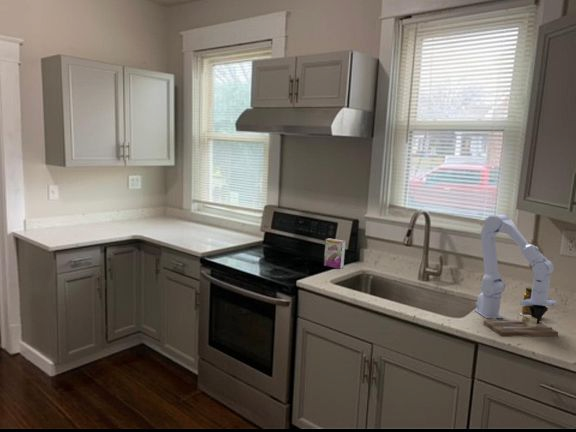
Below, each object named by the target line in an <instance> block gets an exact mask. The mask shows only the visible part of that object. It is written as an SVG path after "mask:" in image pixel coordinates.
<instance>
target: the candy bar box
mask: <svg viewBox="0 0 576 432" xmlns="http://www.w3.org/2000/svg"><path fill="white" fill-rule="evenodd" d="M345 253H346V240H342V239H341V240H340V239H336V238H335V239H334V238H325V243H324V253H323V254H324V255H323V266H324V267H328V268H333V269H337V268H339V269H338V270H341V269H343V268H344V267H345V266H344V265H345V264H344V263H345ZM342 267H343V268H342Z"/></svg>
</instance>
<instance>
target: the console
mask: <svg viewBox="0 0 576 432" xmlns="http://www.w3.org/2000/svg"><path fill="white" fill-rule="evenodd" d="M483 325H484V326H486V327H487V328H489V329H490V330H491V331H493V332H494V333H496V334H497V335H498V336H501V337H546V336H547V337H553V336H554V337H558V335H559V332H558V331H556V330H555V329H553V327H552V326H547V325H546V324H544V323H543V322H542V321H541V320H540V322H539V324H537V325H536V327H526V326H525V325H523V324H522V320H483Z"/></svg>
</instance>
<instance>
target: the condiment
mask: <svg viewBox="0 0 576 432" xmlns="http://www.w3.org/2000/svg"><path fill="white" fill-rule="evenodd" d="M531 293H532V286H531V287H530V286H529V287H525V292H524V295H523V300H526V299H531ZM521 307H522V308H521V312H520V313H519V315H520V316H523V315H531V316H532V314H531V311H530V309H529V306H521ZM544 317H545V315H543V316H542V318H541V320H542V319H543V318H544Z"/></svg>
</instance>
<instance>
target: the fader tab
mask: <svg viewBox="0 0 576 432" xmlns="http://www.w3.org/2000/svg"><path fill="white" fill-rule="evenodd" d="M521 321H522V324H523V325H525V326H526V327H536V325H537V319H536V318H534V317H533V316H531V315H522V320H521Z"/></svg>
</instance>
